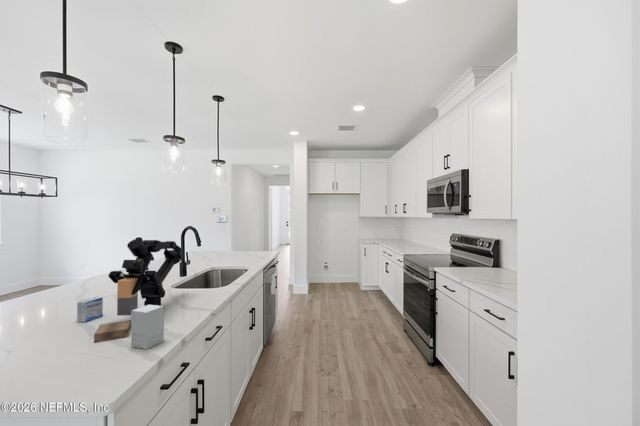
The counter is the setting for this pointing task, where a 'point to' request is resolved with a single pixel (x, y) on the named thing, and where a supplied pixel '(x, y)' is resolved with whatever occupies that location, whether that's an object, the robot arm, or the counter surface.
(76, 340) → the counter surface
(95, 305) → the medicine box
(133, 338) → the supplement box
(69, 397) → the counter surface
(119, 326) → the walnut stand
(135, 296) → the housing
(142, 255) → the robot arm
